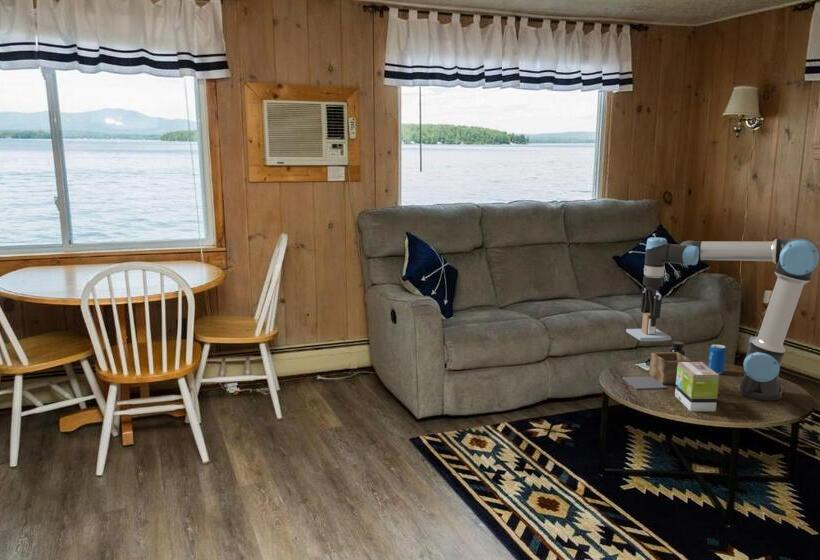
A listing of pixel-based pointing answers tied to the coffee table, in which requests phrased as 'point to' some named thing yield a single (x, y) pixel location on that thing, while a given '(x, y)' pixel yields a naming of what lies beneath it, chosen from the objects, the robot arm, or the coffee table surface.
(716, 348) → the beverage can
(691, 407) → the tea box
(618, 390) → the coffee table surface
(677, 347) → the supplement bottle
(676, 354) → the box
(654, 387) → the mat
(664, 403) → the coffee table surface
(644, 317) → the lid
